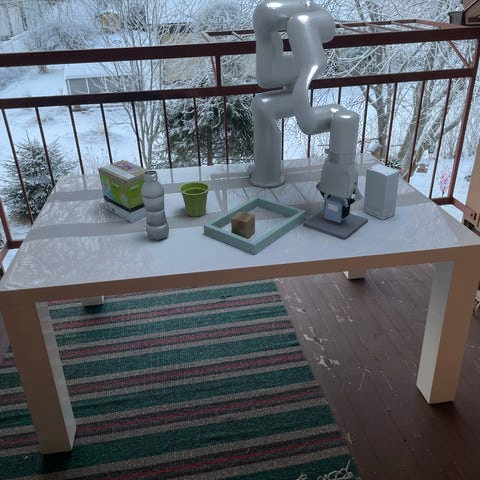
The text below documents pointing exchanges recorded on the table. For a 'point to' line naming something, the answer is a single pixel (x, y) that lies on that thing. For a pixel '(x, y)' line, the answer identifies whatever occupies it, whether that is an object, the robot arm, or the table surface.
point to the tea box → (123, 189)
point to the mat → (336, 225)
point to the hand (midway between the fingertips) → (336, 213)
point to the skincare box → (381, 191)
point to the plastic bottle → (154, 206)
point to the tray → (265, 240)
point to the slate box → (334, 208)
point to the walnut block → (243, 224)
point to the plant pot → (195, 197)
